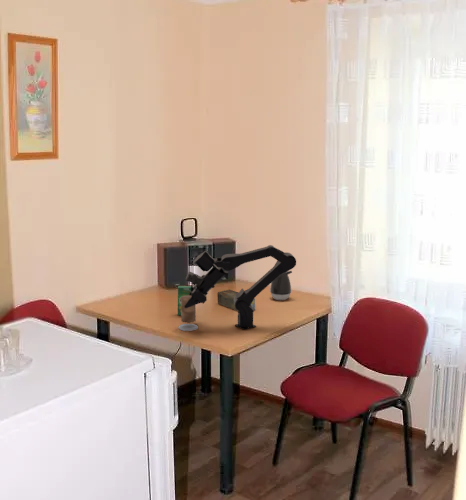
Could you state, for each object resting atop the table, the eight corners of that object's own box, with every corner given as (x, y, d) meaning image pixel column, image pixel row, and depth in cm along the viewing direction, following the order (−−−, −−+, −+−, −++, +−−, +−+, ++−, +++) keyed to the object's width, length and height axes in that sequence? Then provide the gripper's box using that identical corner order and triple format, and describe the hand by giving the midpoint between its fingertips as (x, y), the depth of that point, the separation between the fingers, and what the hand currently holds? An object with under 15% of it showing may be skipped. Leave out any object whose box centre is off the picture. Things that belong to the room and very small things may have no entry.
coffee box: (195, 313, 280) (195, 285, 278) (195, 315, 277) (195, 287, 275) (177, 313, 280) (177, 285, 277) (177, 315, 277) (177, 287, 274)
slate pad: (201, 328, 260) (201, 327, 260) (185, 332, 255) (185, 331, 255) (190, 323, 266) (190, 322, 266) (174, 327, 261) (174, 326, 261)
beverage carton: (242, 313, 281) (242, 299, 280) (216, 304, 296) (216, 291, 295) (255, 310, 286) (255, 296, 285) (229, 301, 301) (229, 288, 299)
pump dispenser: (290, 302, 299) (291, 271, 296) (269, 301, 301) (269, 270, 298) (292, 296, 309) (292, 266, 306) (271, 295, 310) (271, 266, 307)
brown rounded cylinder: (198, 319, 261) (198, 296, 259) (190, 323, 256) (189, 300, 254) (186, 317, 264) (186, 294, 262) (178, 321, 259) (177, 297, 257)
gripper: (196, 260, 265) (171, 286, 266) (197, 270, 247) (170, 298, 248) (215, 278, 267) (189, 303, 268) (217, 289, 249) (190, 316, 250)
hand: (184, 305), depth 259 cm, fingers closed on brown rounded cylinder, 6 cm apart
